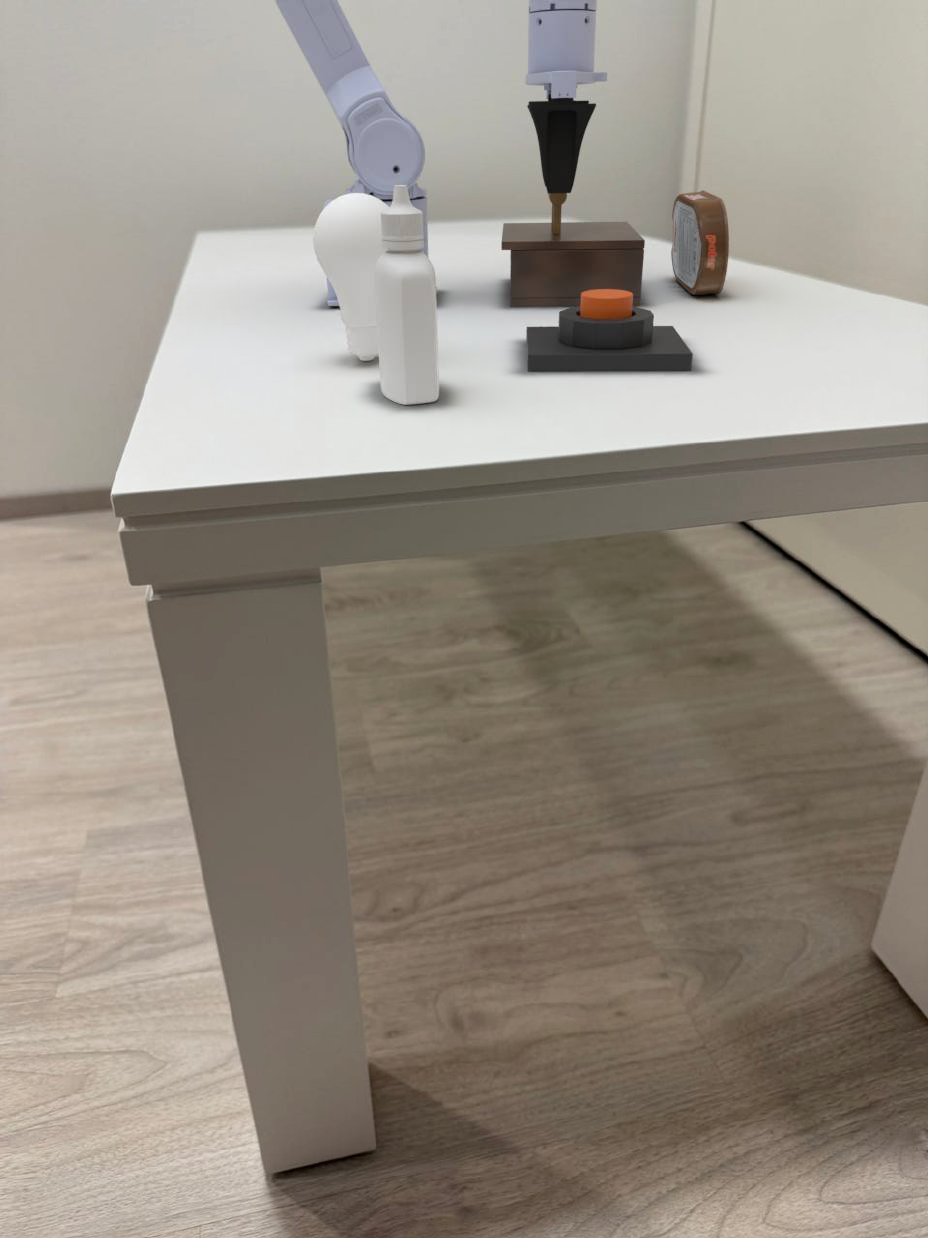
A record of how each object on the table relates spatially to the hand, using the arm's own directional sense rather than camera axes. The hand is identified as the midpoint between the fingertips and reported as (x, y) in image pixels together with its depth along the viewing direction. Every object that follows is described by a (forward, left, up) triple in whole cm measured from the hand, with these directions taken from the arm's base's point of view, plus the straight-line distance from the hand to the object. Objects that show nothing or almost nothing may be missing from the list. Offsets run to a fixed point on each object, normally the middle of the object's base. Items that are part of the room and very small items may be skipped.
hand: (557, 189), depth 85 cm
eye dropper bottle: (-10, -36, -9) cm, 39 cm away
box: (+2, 0, -9) cm, 9 cm away
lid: (+1, 0, -4) cm, 4 cm away
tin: (+14, +2, -9) cm, 17 cm away
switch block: (+3, -26, -9) cm, 28 cm away
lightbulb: (-14, -27, -9) cm, 32 cm away
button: (+3, -26, -6) cm, 27 cm away
